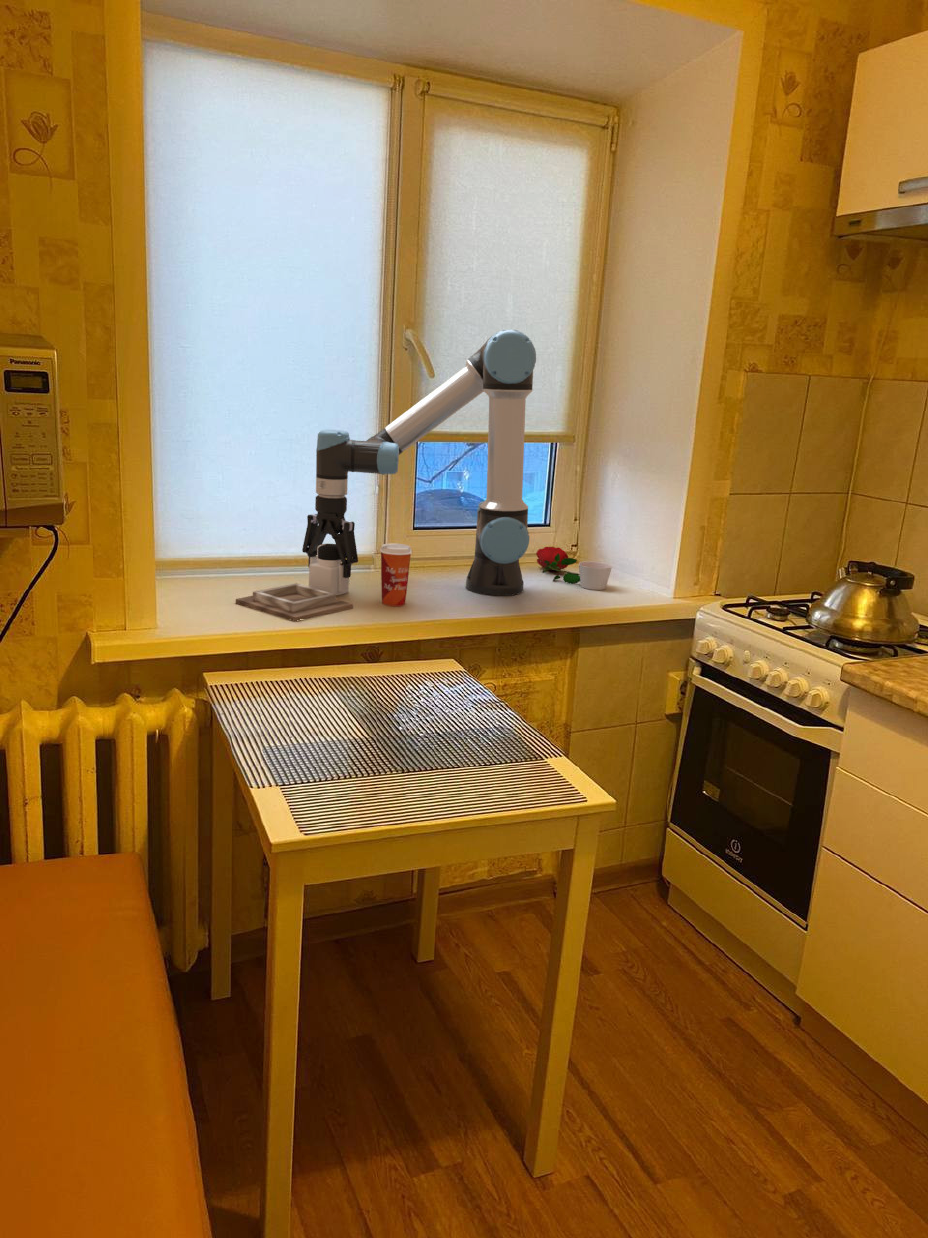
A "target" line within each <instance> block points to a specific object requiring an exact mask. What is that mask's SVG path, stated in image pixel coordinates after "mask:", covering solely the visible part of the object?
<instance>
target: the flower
mask: <svg viewBox="0 0 928 1238" xmlns="http://www.w3.org/2000/svg"><path fill="white" fill-rule="evenodd" d="M535 554H536V556H537V557H536V558H537V559H536V562H537V564H538V565H539V566H540V567H542V568H543V571H542V573H546V572H548V571H550V570H553V571H555V570H556V572H561V573H562V572H563V573H562V575H561V576H560V575H558V574H557V575H555V576H554V577H553V580H552V581H555V580H559V579H561V578H562V581H564V583H566V582H567V583H566V584H570V583H571V584H570V585H573V584H578V583H580V574H579V572H578V573H576V572H570V571H567V570H565V569H567V567H568V566H569V565H570V566H571V565H573V564H576V563H577V562H578V559H576V558H572V557H569V555H568V553H567V552H566V551H565V550H564V549H562V548H561V547H555V546H544V547H543V548H539V549H537V550H536V553H535Z"/></svg>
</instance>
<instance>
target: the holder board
mask: <svg viewBox="0 0 928 1238" xmlns="http://www.w3.org/2000/svg"><path fill="white" fill-rule="evenodd" d="M235 604H238V605H240V606H244V607H246V608H250V609H253V610H257V611H260V612H262V613H263V612H264V613H266V614H270V615H272V616H277V617H280V618H283V619H285V620H289V619H291V620H290V621H292V620H294V621H293V622H295V621H296V622H298V621H297V620H300V619H305V620H308V619H312V618H317V617H321V616H324V615H330V614H333V613H338V612H342V611H346V610H350V609H353V608H354V604H353V603H351V602H347V601H344V600H340V599H337V596H336V594H333V593H329V592H326V591H322V590H319V589H315V588H311V587H309V585H308V586H307V585H305V584H300V583H296V582H295V583H291V584H286V585H281V586H275V587H272V588H271V587H270V588H265V589H260V590H256V591H253V592H252V595H250V596H249V595H247V596H243V597H238V598H235ZM300 621H301V620H300Z"/></svg>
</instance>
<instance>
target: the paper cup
mask: <svg viewBox="0 0 928 1238" xmlns="http://www.w3.org/2000/svg"><path fill="white" fill-rule="evenodd" d="M379 552H380V582H381V583H380V584H381V602H382V605H385V606H388V607H390V606H391V607H400V606H405V605H406V599H407V592H408V591H407V589H408V584H409V583H408V581H409V573H410V564H411V556H412V554H413V551H412V548H411V546H410V545H408V544H403V543H394V542H393V543H391V542H390V543H383V544H382V545H381V547H380V549H379Z"/></svg>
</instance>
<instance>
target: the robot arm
mask: <svg viewBox="0 0 928 1238" xmlns="http://www.w3.org/2000/svg"><path fill="white" fill-rule="evenodd" d="M536 363H537V351H536V348H535V346H534V343H533V342H532V340H531V338H529V337H528V336H527V335H526V334H524V333H523V332H521V331H520V330H519V331H518V330H516V329H501V330H499V331H498V332H496V333H494V334H493V335H491V336H490V337H489V338H488V339H487V340H486V341H485V343H484V344H483V345H481V347H480V348H479V349H478V350H477V351H475V352H474V353H473V354H472V355H471V356H470V357H469V358H467V359H466V362H465V366H463V367H462V368H461V369H459V370H458V371H457V372H456V373H454V374H453V375H452V376H450V377H449V378H448V379H447V380H445V381H444V382H442V383H441V384H440V385H439V386H437V387H436V388H435V389H433V390H432V391H431V392H430V393H428V394H427V395H425V396H424V397H423V398H422V399H420V400H418V402H416V403H415V404H413V406H411V407H410V408H409V409H407V410H406V411H404V412H403V413H402V414H401V415H399V416H397V417H396V419H394V420H393V421H392V422H389V424H388V425H386V426H384V427H383V428H382V429H381V430H380V431H378V432H376V434H375V435H373V436H370V437H369V438H368V439H367V440H355V439H351V437H350V433H349V432H348V431H347V430H338V429H322V430H320V431H319V432H318V433H317V440H316V442H317V443H316V449H315V451H316V460H315V461H316V463H315V464H316V465H315V467H316V468H315V469H316V473H315V474H316V475H315V478H316V479H315V493H316V494H317V495H316V496H315V504H314V505H315V506H314V507H315V509H314V510H315V511H316V512H317V513H313V514H308V515H307V526H306V530H305V534H304V539H303V545H302V550H301V551H302V553H305V554H306V555H307V556H308V564H307V565H308V568H309V565H310V564H313V563H318V561H317V547H318V546H319V545H321V544H324V541H325V539H326V536H327V535H329V536H331V538H332V539H333V540H334V544H336V546H337V549H338V552H339V555H340V558H341V561H342V562H341V564H340V565H339V591H345V590H349V587H350V578H351V575H352V564H356V563H359V557H358V549H357V544H356V536H355V523H356V522H354V521H347V520H346V519H345V514H346V512H347V510H348V498H347V497H346V496H347V495H348V481H349V480H348V477H349V473H361V474H362V473H363V474H365V473H366V474H375V475H376V474H378V475H396V474H397V473H398V471H399V461H400V460H399V457H400V455H401V454H402V453H403V452H404V451H406V450H407V449H408V448H410V447H412V446H413V445H414V444H415V443H417V442H418V441H420V440H421V439H422V438H424V437H425V436H426V435H428V434H429V433H430V432H432V431H433V430H435V428H437V427H438V426H440V425H442V423H444V422H445V421H446V420H448V419H449V418H451V417H452V416H453V415H454V414H457V412H458V411H460V410H461V409H463V408H464V407H465V406H467V405H468V404H470V402H471V401H473V400H474V399H476V398H477V397H478V396H480V395H482V394H483V393H485V394H486V395H487V396H488V426H487V427H488V433H487V434H488V436H487V437H488V438H487V467H486V468H487V471H486V472H487V474H486V478H487V479H486V499H485V500H484V501H483V500H482V501H480V502H479V504H478V507H477V511H476V514H477V519H476V532H475V545H474V546H475V547H474V548H475V549H474V558H473V561H472V563H471V566H470V568H469V571H468V574H467V576H466V580H465V588H466V589H468V590H469V591H471V592H473V593H478V594H484V595H488V594H490V596H513V595H512V594H515V595H519V594H522V593H523V592H524V585H525V584H524V578H523V575H522V570H521V566H520V559H521V558H522V557H523V556H524V555H525V553H526V552H527V550H528V549H529V544H530V535H529V530H528V525H529V524H528V521H529V519H528V518H529V505H528V504H526V502H524V500H523V488H524V487H523V483H524V481H523V480H524V479H523V478H524V460H525V459H524V455H525V426H526V425H525V424H526V422H525V421H526V399H527V398H528V396H530V394H531V393H533V384H534V382H533V381H534V369H535V367H536ZM522 591H523V592H522ZM521 592H522V593H521ZM518 593H519V594H518Z"/></svg>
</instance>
